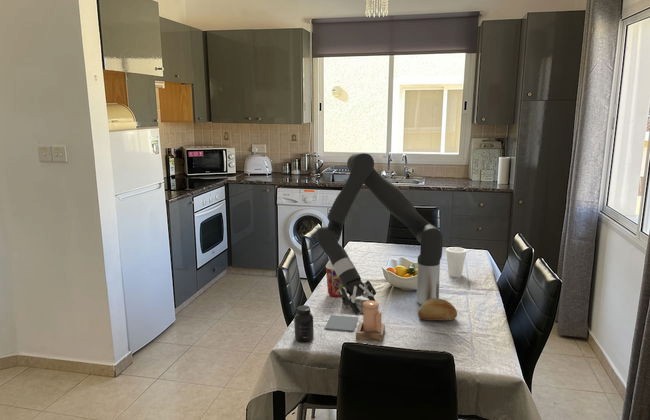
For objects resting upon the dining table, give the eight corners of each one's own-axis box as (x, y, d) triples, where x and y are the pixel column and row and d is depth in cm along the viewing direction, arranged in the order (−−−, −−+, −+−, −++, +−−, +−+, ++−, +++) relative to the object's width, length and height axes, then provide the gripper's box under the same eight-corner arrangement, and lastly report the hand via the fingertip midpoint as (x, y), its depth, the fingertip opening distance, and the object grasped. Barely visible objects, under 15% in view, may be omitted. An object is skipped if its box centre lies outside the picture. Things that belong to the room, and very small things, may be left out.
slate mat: (358, 318, 188) (358, 317, 188) (353, 331, 177) (353, 330, 176) (331, 316, 190) (331, 314, 190) (324, 329, 179) (324, 328, 179)
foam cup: (443, 276, 234) (444, 251, 231) (446, 271, 242) (447, 246, 239) (463, 279, 230) (465, 253, 228) (465, 273, 239) (467, 248, 236)
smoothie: (343, 299, 207) (342, 255, 203) (324, 298, 209) (323, 254, 205) (346, 292, 215) (346, 249, 211) (328, 291, 217) (327, 249, 213)
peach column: (359, 333, 175) (359, 303, 172) (371, 329, 178) (371, 299, 176) (373, 341, 169) (374, 309, 166) (385, 336, 172) (385, 305, 170)
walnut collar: (384, 329, 178) (384, 323, 177) (382, 341, 169) (382, 334, 168) (359, 327, 180) (359, 321, 179) (356, 339, 171) (356, 332, 170)
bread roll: (459, 325, 181) (460, 305, 180) (419, 324, 182) (419, 304, 181) (454, 314, 190) (455, 295, 189) (416, 313, 192) (417, 294, 190)
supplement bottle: (294, 335, 175) (293, 304, 172) (313, 334, 175) (312, 303, 173) (294, 344, 168) (294, 312, 166) (314, 343, 168) (313, 311, 166)
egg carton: (339, 310, 197) (339, 300, 196) (347, 303, 204) (347, 294, 203) (363, 314, 192) (363, 304, 191) (370, 307, 199) (370, 298, 198)
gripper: (336, 271, 174) (357, 310, 167) (365, 263, 182) (386, 300, 176) (327, 281, 179) (347, 319, 172) (356, 273, 188) (376, 309, 181)
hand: (366, 310), depth 174 cm, fingers open, 8 cm apart
